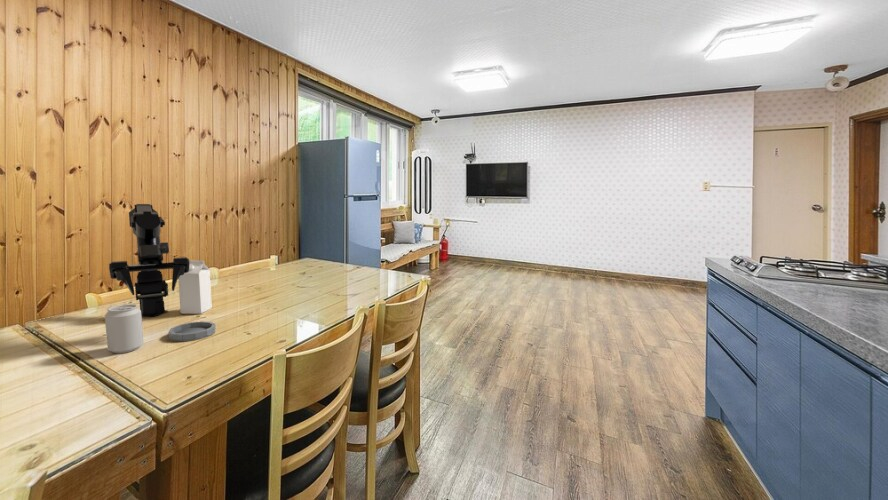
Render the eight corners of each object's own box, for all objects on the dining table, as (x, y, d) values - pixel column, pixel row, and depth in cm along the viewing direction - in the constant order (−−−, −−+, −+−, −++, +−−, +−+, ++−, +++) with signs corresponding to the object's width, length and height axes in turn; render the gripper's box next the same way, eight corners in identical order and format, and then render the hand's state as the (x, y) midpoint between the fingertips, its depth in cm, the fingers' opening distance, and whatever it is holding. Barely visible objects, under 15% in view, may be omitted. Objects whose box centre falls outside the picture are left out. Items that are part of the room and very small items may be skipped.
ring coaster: (159, 339, 108) (159, 333, 108) (190, 326, 120) (189, 320, 119) (196, 342, 107) (195, 335, 107) (223, 328, 118) (223, 322, 118)
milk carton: (192, 308, 139) (189, 258, 136) (212, 308, 139) (209, 259, 137) (180, 314, 132) (177, 262, 129) (201, 314, 132) (198, 262, 130)
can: (123, 355, 97) (119, 312, 95) (100, 352, 98) (96, 309, 97) (150, 345, 104) (147, 304, 103) (129, 342, 106) (125, 302, 104)
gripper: (106, 234, 102) (108, 283, 97) (187, 232, 114) (193, 275, 109) (109, 254, 110) (112, 301, 104) (185, 250, 122) (191, 292, 116)
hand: (153, 292), depth 108 cm, fingers open, 9 cm apart
